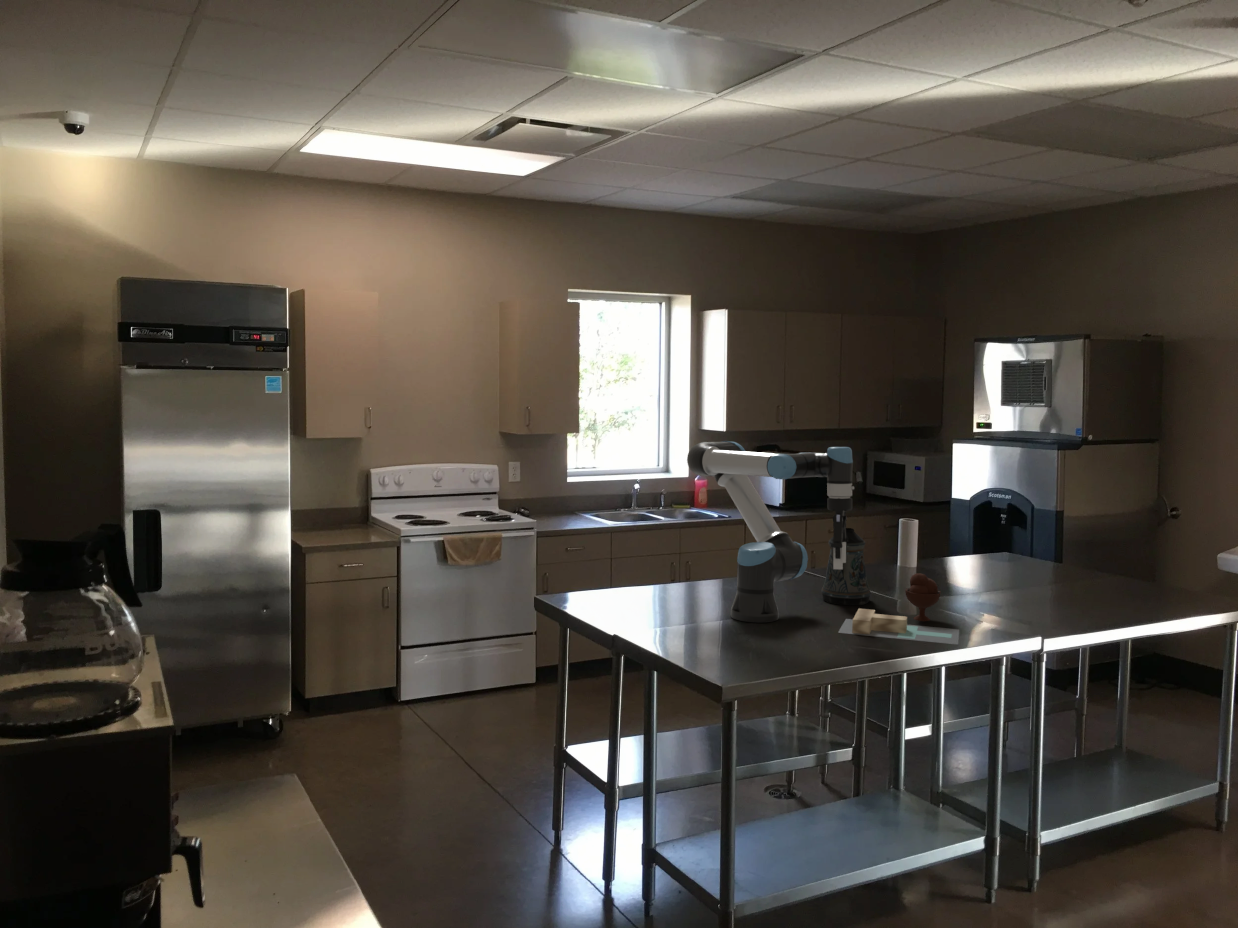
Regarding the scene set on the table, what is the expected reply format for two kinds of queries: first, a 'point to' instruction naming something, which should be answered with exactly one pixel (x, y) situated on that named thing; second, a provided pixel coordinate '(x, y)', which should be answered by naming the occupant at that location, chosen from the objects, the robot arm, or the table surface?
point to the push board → (912, 633)
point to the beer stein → (847, 575)
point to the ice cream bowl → (922, 594)
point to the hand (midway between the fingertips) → (839, 565)
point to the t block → (877, 622)
